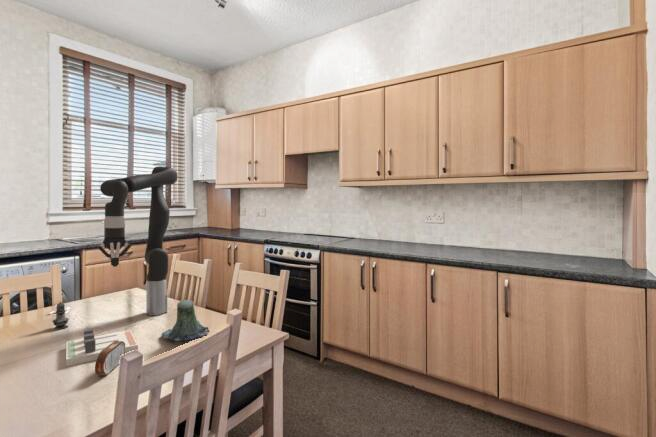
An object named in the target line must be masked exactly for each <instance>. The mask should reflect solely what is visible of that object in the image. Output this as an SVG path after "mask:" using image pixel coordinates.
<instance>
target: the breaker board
mask: <svg viewBox="0 0 656 437" xmlns="http://www.w3.org/2000/svg"><path fill="white" fill-rule="evenodd" d="M94 338H95V351H93V352H88V353H85V347H84V338H79V339H74V340H69V341H66V342H65V343H66V344H65V346H66V347H65V348H66V349H65V353H66V354H65V355H66V357H65V361H66V362H65V364H66V366H65V367H71V366H75V365H79V364H84V363H88V362H94V361H96V360H97V357H98V355H99V354H100V352H101V351H102V350H103V349H104V348H106V347H107V346H109V345H110V344H111V343H113V342H114V341H123V342H124V343H125V353H127V352H129V351H132V350H138V351H139V344H138V342H137V340H136V338H135V336H134V334H133V332H132V329H129V330H125V331H119V332H114V333H107V334H103V335H102V334H101V335H97V336H94ZM127 354H128V353H127Z"/></svg>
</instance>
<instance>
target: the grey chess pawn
mask: <svg viewBox="0 0 656 437" xmlns="http://www.w3.org/2000/svg"><path fill="white" fill-rule="evenodd" d="M56 305H57V311H56V310H55V311H56V312H55V314H56V315H55V316H56V317H55V319H52V323H53V325H54V326H55V327H53V328H52V330H55V331H60V330H65V329H67V328H69V326H68V325H67V324H68V322H69V320H70V318H69V317H67V316H66V313H65V312H66V311H65V307H66V305H65V303H64V302H62V301H60V302H59V303H57V304H56Z"/></svg>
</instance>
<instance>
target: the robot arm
mask: <svg viewBox="0 0 656 437" xmlns="http://www.w3.org/2000/svg"><path fill="white" fill-rule="evenodd" d="M177 180H178V172H177V170H176V169H175V168H173V167H169V166H155V167H153V169H152V170H151V173H145V174H136V175H132V176H131V175H130V176H127V177H123V178H122V177H121V178H114V179H108V180H105V181H103V182H102V183H101V185H100V186H99V189H100V192H101V193H102V194H103V195H104V196H106V197H112V199H111V201H108V202H107V203H106V204H105V205H104V221H103V223H104V225H103V226H104V227H103V228H104V231H103V233H104V235H103V236H104V239H103V241H102V243H100V244H99V245H97V249H98V250H99V251H100V252H101V253H102V254H103V255H104V256H105V257H106V258H110V265H111V266H112V267H118V266H119V265H120V262H119V261H120V257H121V258H122V257H124V255H125V254H126V253H127V252H128V251H129V249H130V248H131V247H132V244H130V243H128V242H127V240H126V238H125V237H126V235H125V234H126V233H125V232H126V231H125V230H126V227H125V226H126V223H125V204H126V201H127V199H128V194H129V193H135V192H138V191H141V190H142V191H143V190H145V189H149V188H151V189H150V190H151V192H150V194H151V195H150V209H149V217H148V232H147V233H148V234H147V235H148V237H147V243H146V246H145V247H146V248H145V252H144V260H145V263H147V264H148V272H147V274H146V284H145V285H146V290H145V293H146V301H145V302H146V306H145V307H146V309H145V310H146V311H145V313H147V314H146V315H148V316H159V315H158V314H160V315H163V314H165V313H164V312H167V313H168V293H167V278H168V273H169V255H168V253H167V251H166V250H165V249H163V246H164V242H163V240H164V236H165V234H166V232H167V229H168V227H169V223H170V216H171V215H170V214H171V213H170V207H169V205H168V202H167V201H166V198H165V195H164V185H165V186H172V185H173V184H176V182H177ZM123 247H124V248H123ZM105 248H107V249H108V250H109V253H108V252H107V251H106V250H105ZM121 249H123V250H122V251H121V252H120V250H121ZM162 313H163V314H162Z"/></svg>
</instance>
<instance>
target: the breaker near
mask: <svg viewBox="0 0 656 437" xmlns="http://www.w3.org/2000/svg"><path fill="white" fill-rule="evenodd" d="M93 351H95V338H93V339H88V340H85V353H88V352H93Z"/></svg>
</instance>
